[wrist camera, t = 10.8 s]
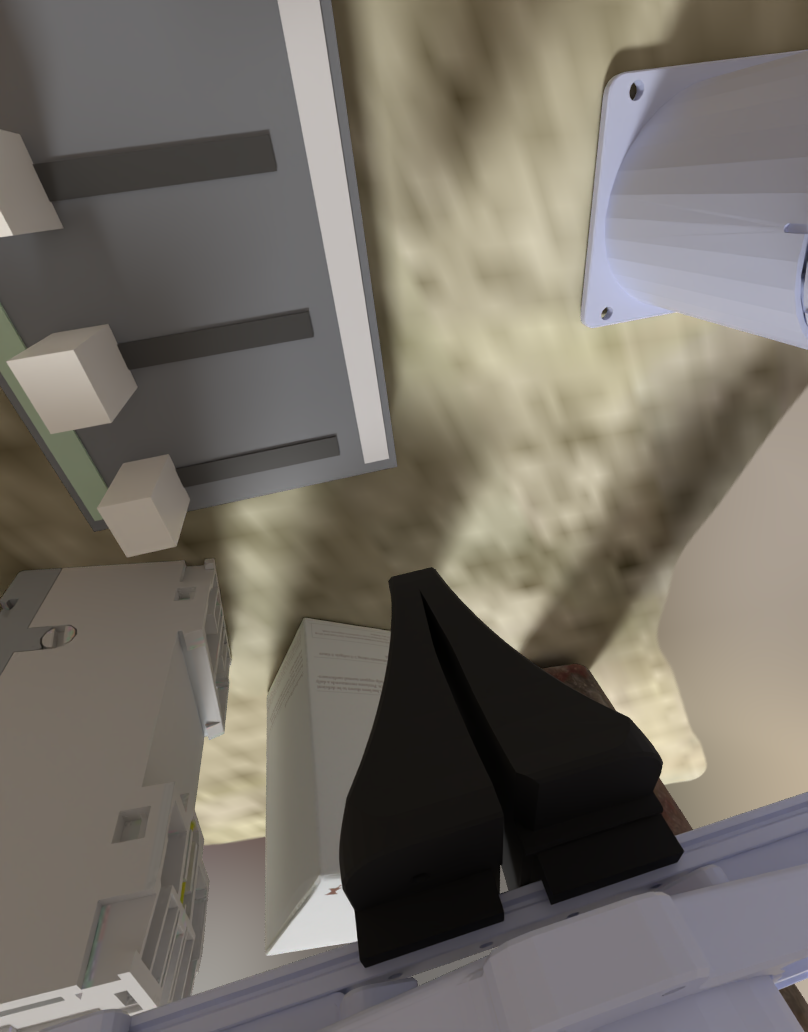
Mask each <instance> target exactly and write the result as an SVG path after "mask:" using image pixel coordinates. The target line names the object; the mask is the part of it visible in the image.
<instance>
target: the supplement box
mask: <svg viewBox="0 0 808 1032" xmlns="http://www.w3.org/2000/svg"><path fill="white" fill-rule="evenodd" d="M390 636H391V631H387V630H381V629H375V628H368V627H362V626H355V625H348V624H342V623H336V622H330V621H323V620H316V619H311V618H304V619H303V620H302V622H301V624H300V626H299V629H298V631H297V632H296V635H295V637H294V639H293V641H292V643H291V645H290V647H289V649H288V652H287V654H286V656H285V658H284V660H283V662H282V664H281V666H280V669H279V671H278V673H277V675H276V677H275V679H274V682H273V683H272V686H271V688H270V690H269V692H268V695H267V751H266V756H267V763H266V882H265V885H266V886H265V888H266V889H265V892H266V893H265V902H266V904H265V953H266V955H276V954H281V953H287V952H293V951H300V950H306V949H312V948H318V947H324V946H331V945H338V944H344V943H351V942H356V941H358V940H357V931H356V922H355V912H354V909H353V907H352V905H351V904H350V902H349V900H348V898H347V897H346V895H345V893H344V891H343V889H342V883H341V874H340V865H339V843H340V833H341V826H342V820H343V814H344V809H345V803H346V798H347V795H348V793H349V790H350V788H351V785H352V783H353V780H354V778H355V775H356V773H357V770H358V768H359V765H360V762H361V760H362V757H363V754H364V751H365V748H366V745H367V742H368V739H369V736H370V732H371V729H372V726H373V723H374V719H375V716H376V712H377V708H378V704H379V700H380V696H381V692H382V687H383V683H384V678H385V672H386V667H387V661H388V653H389V645H390Z"/></svg>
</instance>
